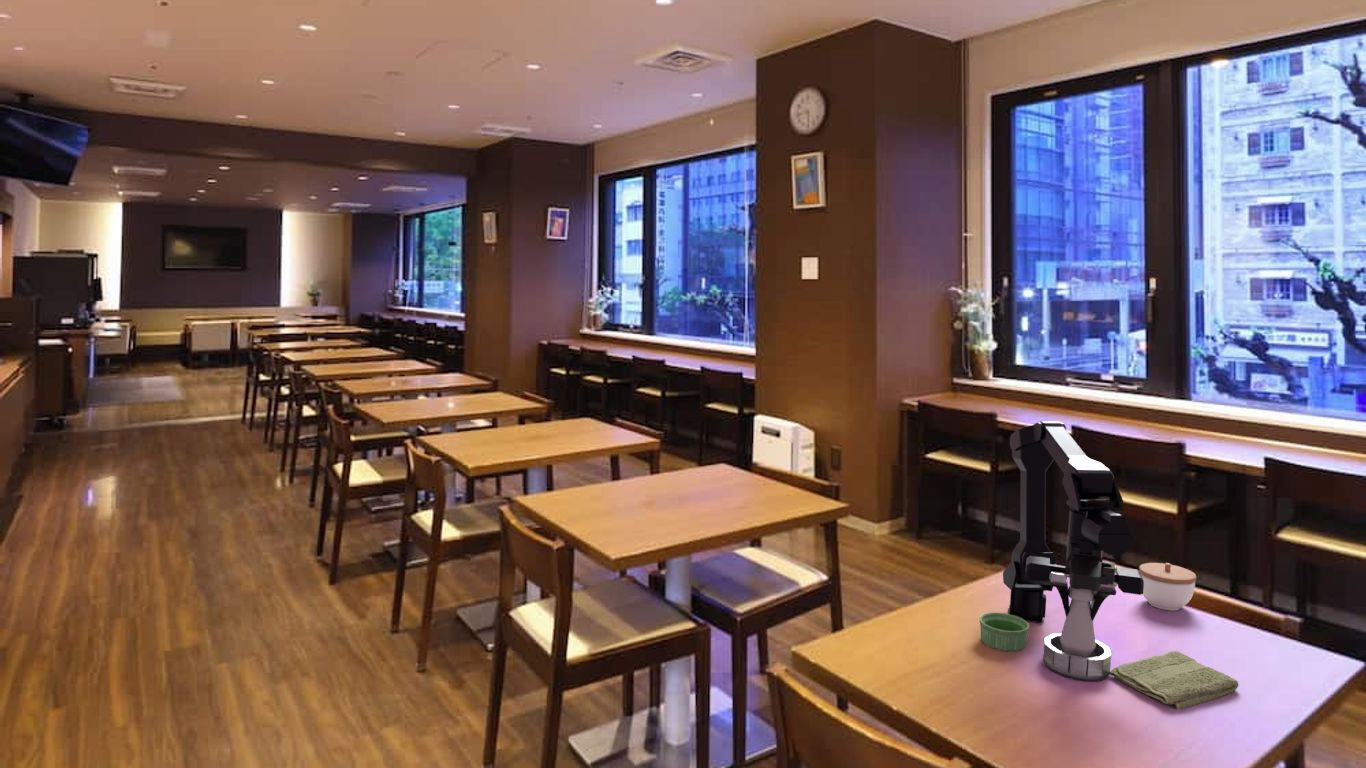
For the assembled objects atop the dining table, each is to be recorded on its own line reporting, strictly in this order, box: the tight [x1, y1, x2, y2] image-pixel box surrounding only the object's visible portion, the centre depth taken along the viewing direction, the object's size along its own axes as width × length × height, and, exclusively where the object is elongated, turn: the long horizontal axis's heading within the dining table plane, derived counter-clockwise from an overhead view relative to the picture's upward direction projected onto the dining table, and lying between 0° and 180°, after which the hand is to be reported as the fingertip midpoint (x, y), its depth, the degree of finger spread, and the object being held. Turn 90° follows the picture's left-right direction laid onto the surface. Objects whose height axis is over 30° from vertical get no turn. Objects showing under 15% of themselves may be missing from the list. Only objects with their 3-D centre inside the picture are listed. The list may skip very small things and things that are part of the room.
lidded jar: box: [1138, 562, 1197, 612], centre depth 177 cm, size 11×11×9 cm
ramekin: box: [979, 612, 1030, 652], centre depth 158 cm, size 9×9×4 cm
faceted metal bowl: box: [1042, 632, 1112, 683], centre depth 148 cm, size 11×11×4 cm
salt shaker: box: [1060, 585, 1096, 657], centre depth 147 cm, size 6×6×13 cm
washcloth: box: [1109, 650, 1240, 710], centre depth 142 cm, size 13×18×3 cm
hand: (1078, 619), depth 147 cm, fingers closed on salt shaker, 3 cm apart
